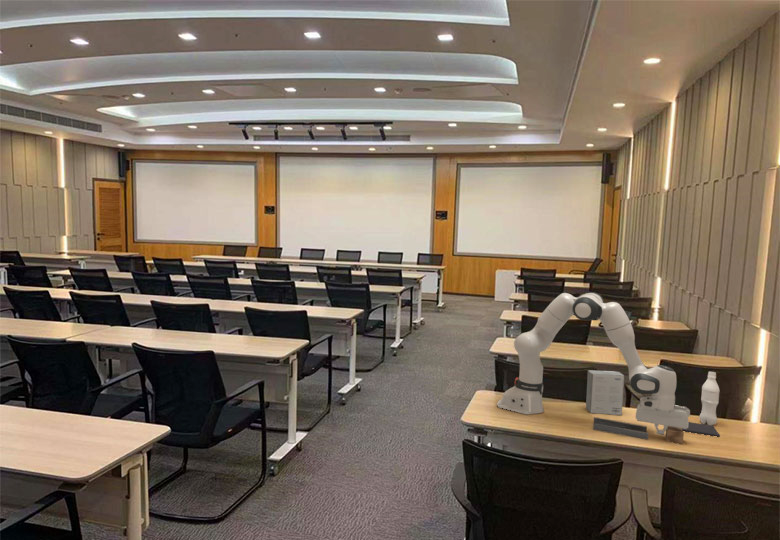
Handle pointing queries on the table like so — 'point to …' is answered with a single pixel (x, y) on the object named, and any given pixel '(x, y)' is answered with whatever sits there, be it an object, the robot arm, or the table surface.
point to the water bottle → (709, 400)
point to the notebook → (701, 429)
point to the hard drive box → (605, 392)
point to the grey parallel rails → (620, 428)
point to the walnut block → (674, 435)
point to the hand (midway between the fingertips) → (660, 434)
